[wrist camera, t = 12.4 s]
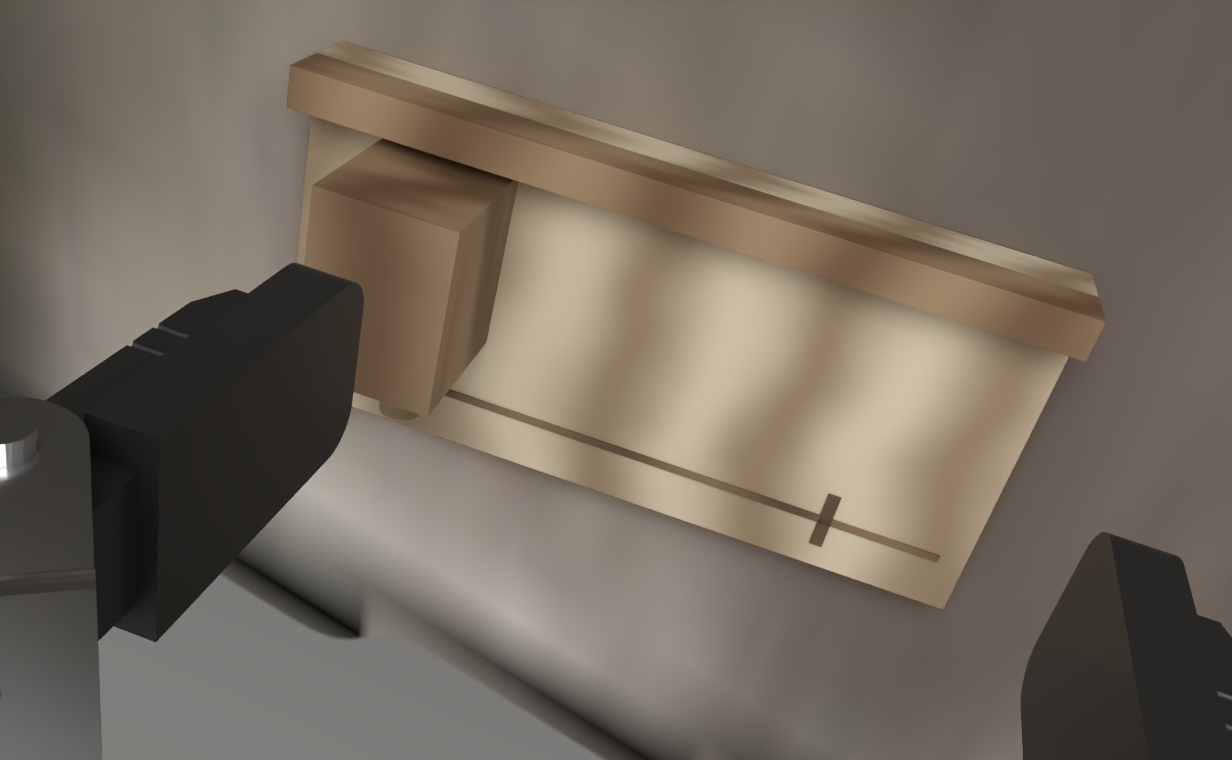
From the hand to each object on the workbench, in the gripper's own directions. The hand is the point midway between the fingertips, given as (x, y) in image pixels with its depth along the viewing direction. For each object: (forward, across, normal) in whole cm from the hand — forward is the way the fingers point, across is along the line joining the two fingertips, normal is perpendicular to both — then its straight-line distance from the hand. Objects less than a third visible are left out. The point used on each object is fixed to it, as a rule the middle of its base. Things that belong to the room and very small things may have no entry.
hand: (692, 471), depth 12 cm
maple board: (+30, +4, +14) cm, 33 cm away
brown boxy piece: (+27, +13, +14) cm, 33 cm away
